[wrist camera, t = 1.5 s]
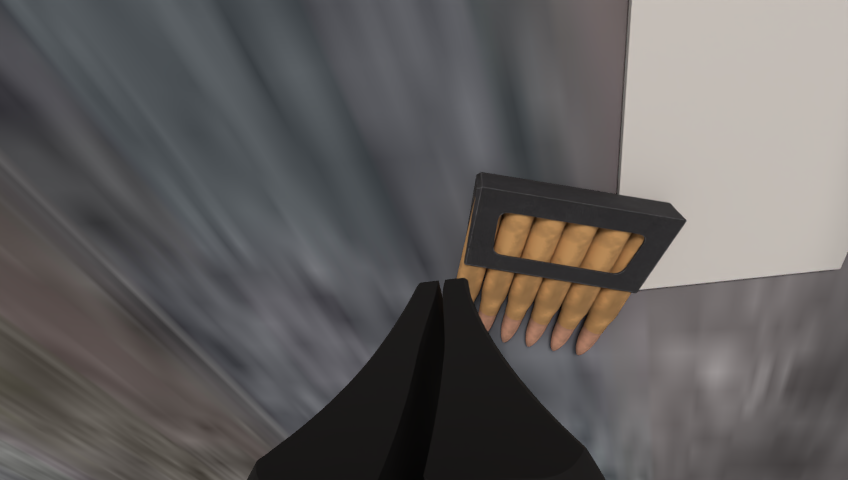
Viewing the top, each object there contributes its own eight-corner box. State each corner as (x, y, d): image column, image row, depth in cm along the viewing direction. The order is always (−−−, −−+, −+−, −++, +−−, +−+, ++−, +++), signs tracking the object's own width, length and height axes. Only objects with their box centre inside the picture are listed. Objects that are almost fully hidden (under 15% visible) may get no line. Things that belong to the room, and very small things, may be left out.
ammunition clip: (477, 171, 20) (443, 321, 27) (477, 186, 18) (441, 341, 25) (672, 202, 20) (587, 346, 27) (688, 220, 18) (594, 367, 25)
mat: (1014, -153, 13) (1025, -157, 12) (835, 265, 21) (840, 268, 21) (632, -55, 15) (635, -57, 15) (611, 289, 24) (612, 292, 23)
